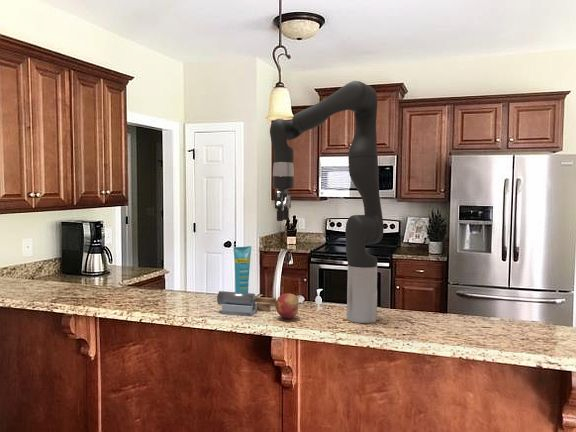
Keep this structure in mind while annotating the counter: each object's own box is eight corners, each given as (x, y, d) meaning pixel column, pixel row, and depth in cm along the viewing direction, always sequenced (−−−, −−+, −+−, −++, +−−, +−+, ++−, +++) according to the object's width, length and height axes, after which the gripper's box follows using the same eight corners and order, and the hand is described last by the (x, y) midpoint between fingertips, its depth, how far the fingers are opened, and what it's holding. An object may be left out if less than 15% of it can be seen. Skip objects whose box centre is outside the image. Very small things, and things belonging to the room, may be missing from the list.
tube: (236, 297, 179) (236, 247, 178) (230, 295, 183) (230, 246, 182) (253, 295, 183) (253, 246, 183) (247, 293, 187) (247, 245, 187)
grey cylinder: (255, 305, 157) (255, 292, 157) (251, 308, 153) (251, 294, 153) (221, 303, 160) (222, 290, 160) (216, 305, 155) (217, 292, 155)
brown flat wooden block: (276, 305, 167) (276, 298, 167) (269, 311, 158) (269, 303, 158) (244, 303, 170) (244, 296, 170) (235, 308, 161) (235, 301, 161)
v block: (256, 311, 158) (257, 302, 158) (251, 316, 152) (251, 306, 152) (228, 309, 160) (228, 300, 160) (221, 313, 154) (221, 304, 154)
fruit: (291, 323, 144) (291, 297, 144) (270, 319, 148) (270, 294, 148) (303, 317, 151) (304, 292, 150) (283, 314, 155) (283, 290, 154)
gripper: (278, 176, 177) (277, 219, 178) (268, 174, 163) (267, 221, 164) (297, 176, 175) (297, 219, 176) (289, 174, 162) (288, 221, 162)
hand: (282, 220), depth 170 cm, fingers open, 8 cm apart
